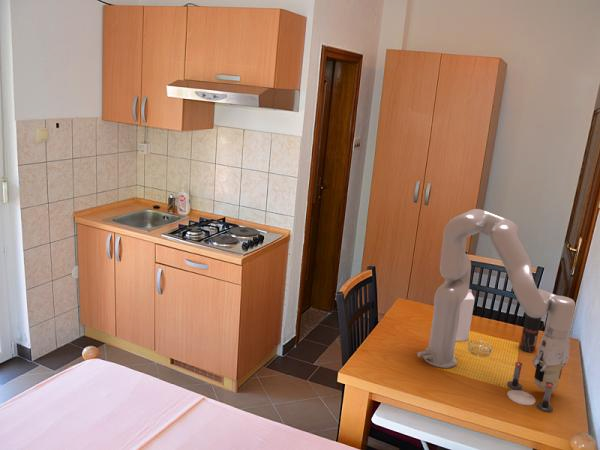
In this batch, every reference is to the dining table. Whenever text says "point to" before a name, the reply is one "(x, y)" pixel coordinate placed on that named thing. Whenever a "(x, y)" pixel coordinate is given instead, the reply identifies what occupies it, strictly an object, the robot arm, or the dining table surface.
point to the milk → (465, 317)
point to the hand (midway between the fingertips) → (547, 378)
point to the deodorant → (530, 334)
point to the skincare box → (550, 376)
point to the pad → (521, 397)
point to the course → (515, 385)
